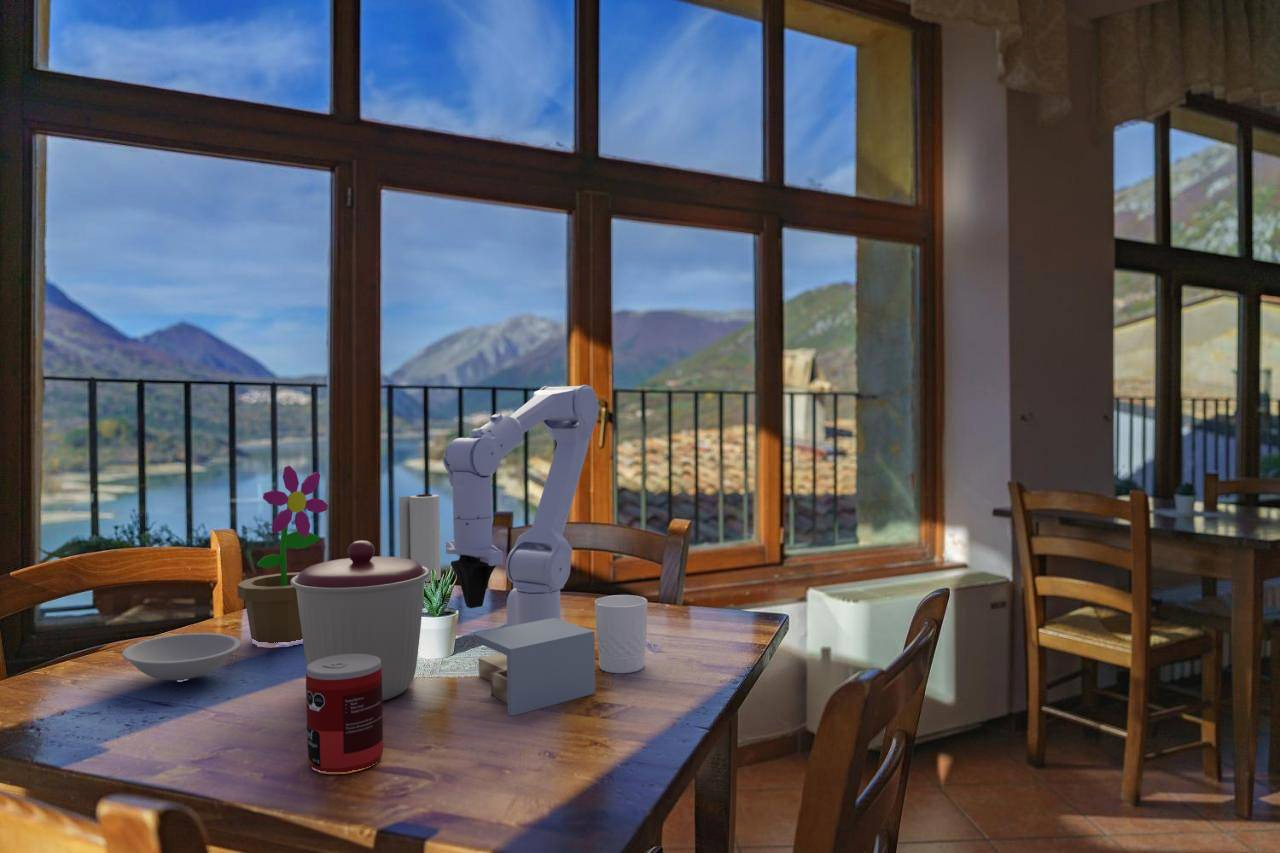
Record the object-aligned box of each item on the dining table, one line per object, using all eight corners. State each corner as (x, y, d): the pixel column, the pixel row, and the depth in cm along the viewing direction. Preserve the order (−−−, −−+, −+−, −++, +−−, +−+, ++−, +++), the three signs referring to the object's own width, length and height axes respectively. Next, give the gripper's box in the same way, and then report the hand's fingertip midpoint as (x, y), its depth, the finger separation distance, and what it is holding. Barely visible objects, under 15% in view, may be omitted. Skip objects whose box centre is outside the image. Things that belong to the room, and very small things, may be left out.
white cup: (642, 676, 122) (641, 607, 122) (589, 673, 123) (588, 605, 123) (652, 660, 129) (651, 595, 129) (602, 658, 131) (601, 594, 131)
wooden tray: (462, 679, 121) (461, 649, 121) (516, 666, 127) (516, 638, 127) (517, 708, 109) (517, 675, 109) (575, 693, 115) (574, 661, 115)
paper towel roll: (446, 594, 178) (444, 493, 177) (432, 601, 172) (430, 496, 172) (414, 593, 179) (413, 493, 179) (400, 599, 174) (398, 496, 173)
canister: (456, 679, 122) (454, 533, 121) (378, 724, 104) (375, 554, 104) (352, 668, 127) (349, 529, 127) (262, 709, 110) (258, 548, 110)
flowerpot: (274, 656, 134) (269, 468, 133) (220, 644, 142) (216, 466, 141) (347, 635, 146) (343, 462, 146) (295, 625, 154) (291, 461, 153)
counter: (474, 695, 114) (473, 633, 114) (554, 675, 122) (553, 617, 122) (511, 716, 106) (510, 649, 106) (595, 693, 115) (594, 631, 114)
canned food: (319, 749, 97) (317, 654, 97) (390, 746, 97) (388, 651, 97) (297, 778, 89) (295, 675, 89) (375, 774, 90) (373, 672, 90)
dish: (101, 683, 122) (100, 649, 122) (201, 659, 133) (201, 627, 133) (160, 707, 112) (159, 669, 111) (263, 678, 123) (262, 644, 123)
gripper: (427, 515, 130) (428, 602, 131) (471, 524, 119) (473, 620, 119) (468, 511, 135) (470, 595, 135) (514, 519, 124) (516, 611, 124)
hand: (474, 606), depth 128 cm, fingers closed
